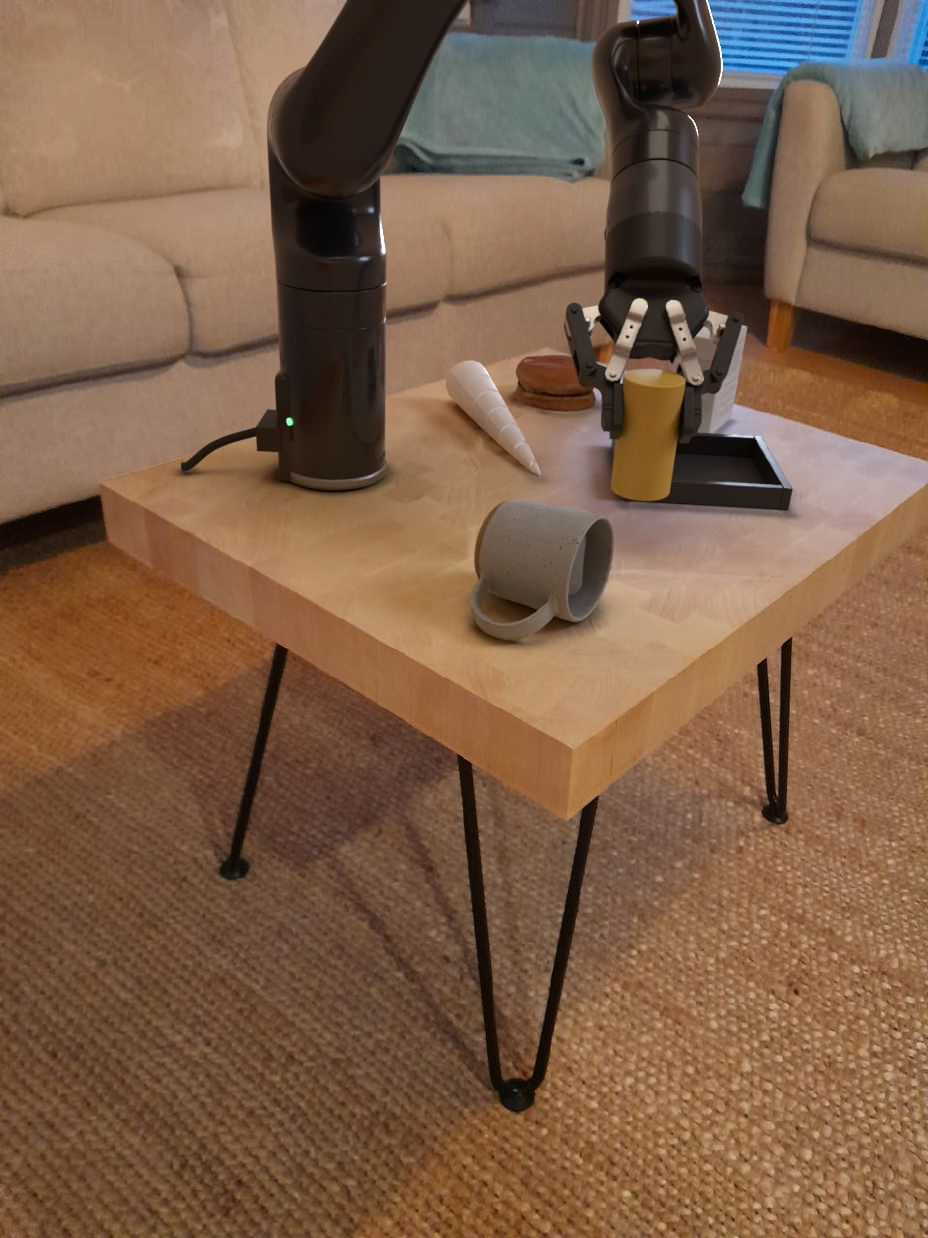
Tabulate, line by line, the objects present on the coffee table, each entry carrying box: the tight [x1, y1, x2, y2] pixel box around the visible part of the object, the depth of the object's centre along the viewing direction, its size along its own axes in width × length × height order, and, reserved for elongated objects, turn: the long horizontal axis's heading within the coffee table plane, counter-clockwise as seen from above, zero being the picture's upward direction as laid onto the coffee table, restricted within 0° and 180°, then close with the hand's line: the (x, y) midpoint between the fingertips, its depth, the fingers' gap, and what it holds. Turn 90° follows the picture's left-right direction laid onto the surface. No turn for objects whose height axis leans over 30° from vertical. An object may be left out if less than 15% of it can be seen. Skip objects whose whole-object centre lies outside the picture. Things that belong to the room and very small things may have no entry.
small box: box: [666, 324, 748, 434], centre depth 110 cm, size 8×6×10 cm
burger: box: [513, 354, 597, 412], centre depth 117 cm, size 10×9×5 cm
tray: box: [610, 432, 794, 511], centre depth 98 cm, size 15×14×2 cm
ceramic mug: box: [470, 499, 615, 641], centre depth 73 cm, size 11×8×8 cm
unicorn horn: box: [445, 359, 542, 476], centre depth 105 cm, size 5×24×5 cm, turn 14°
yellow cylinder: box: [610, 368, 686, 501], centre depth 80 cm, size 5×5×9 cm
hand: (651, 435), depth 78 cm, fingers closed on yellow cylinder, 4 cm apart
